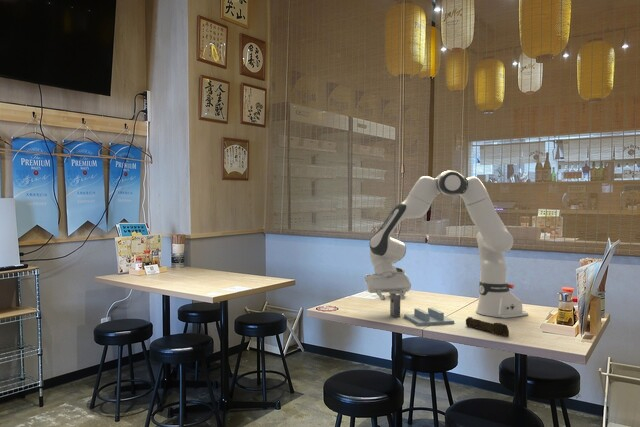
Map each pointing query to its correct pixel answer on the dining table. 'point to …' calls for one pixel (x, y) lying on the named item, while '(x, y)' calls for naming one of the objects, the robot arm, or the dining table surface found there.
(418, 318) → the keeper
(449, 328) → the dining table surface
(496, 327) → the dark brown bar
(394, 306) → the end link
